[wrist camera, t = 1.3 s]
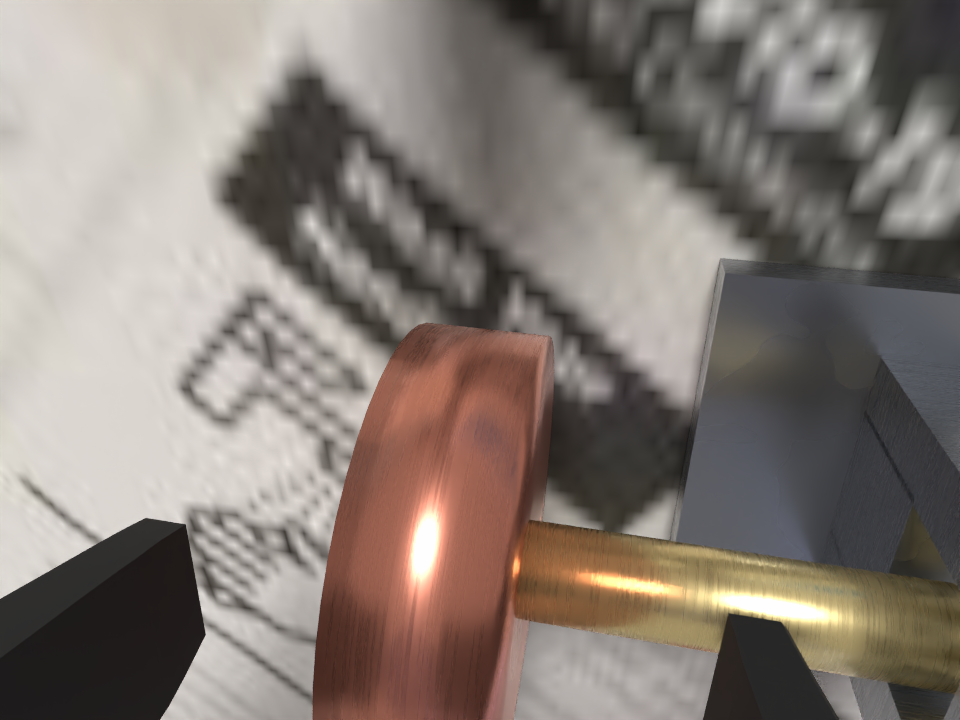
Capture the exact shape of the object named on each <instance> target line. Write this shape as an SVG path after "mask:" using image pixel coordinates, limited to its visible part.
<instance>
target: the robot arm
mask: <svg viewBox="0 0 960 720" xmlns="http://www.w3.org/2000/svg"><path fill="white" fill-rule="evenodd" d="M205 635H206V634H205V629H204V623H203V617H202V612H201V606H200V601H199V595H198V590H197V584H196V579H195V573H194V568H193V562H192V557H191V551H190V546H189V540H188V535H187V529H186V525H185V524H179V523H173V522H167V521H161V520H155V519H149V518H145V519H143V520H141V521H139V522H137V523H135V524H133V525H131V526H129V527H127V528H125V529H123V530H122V531H120V532H118V533H116V534H114V535H112V536H111V537H109V538H107V539H105V540H103V541H102V542H100V543H98V544H96V545H94V546H93V547H91V548H89V549H87V550H86V551H84V552H82V553H80V554H79V555H77V556H75V557H73V558H72V559H70V560H68V561H66V562H65V563H63V564H61V565H59V566H58V567H56V568H54V569H52V570H51V571H49V572H47V573H45V574H44V575H42V576H40V577H38V578H37V579H35V580H33V581H31V582H29V583H28V584H26V585H24V586H22V587H21V588H19V589H17V590H15V591H13V592H12V593H10V594H8V595H6V596H5V597H3V598H1V599H0V720H160V719H161V717H162V716H163V714H164V713H165V711H166V710H167V708H168V707H169V705H170V703H171V701H172V699H173V697H174V696H175V694H176V692H177V690H178V688H179V686H180V684H181V683H182V681H183V679H184V677H185V675H186V673H187V671H188V669H189V667H190V665H191V663H192V661H193V659H194V657H195V655H196V653H197V651H198V649H199V647H200V645H201V643H202V641H203V639H204V637H205ZM703 720H839V718H838V717H837V715H836V713H835V712H834V710H833V708H832V707H831V705H830V703H829V701H828V700H827V698H826V696H825V695H824V693H823V691H822V690H821V688H820V686H819V684H818V683H817V681H816V679H815V677H814V676H813V674H812V672H811V670H810V669H809V667H808V665H807V663H806V662H805V660H804V658H803V656H802V654H801V653H800V651H799V649H798V647H797V645H796V644H795V642H794V640H793V638H792V636H791V634H790V633H789V631H788V630H787V628H786V627H785V626H784V625H783V623H782V622H780V621H774V620H768V619H761V618H755V617H749V616H743V615H737V614H731V613H728V617H727V621H726V625H725V630H724V634H723V638H722V642H721V646H720V651H719V655H718V659H717V663H716V668H715V672H714V676H713V680H712V684H711V689H710V693H709V697H708V701H707V706H706V710H705V714H704V718H703Z"/></svg>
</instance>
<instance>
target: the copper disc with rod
mask: <svg viewBox="0 0 960 720" xmlns="http://www.w3.org/2000/svg"><path fill="white" fill-rule="evenodd" d="M553 392H554V349H553V342H552V338H551V337H550V336H545V335H536V334H526V333H517V332H508V331H498V330H489V329H480V328H470V327H461V326H452V325H443V324H433V323H424V324H420V325H418V326H417V327H415V328H414V329H412V330H411V331H410V332H409V333H408V334H407V335H406V337H405V338H404V339H403V340H402V341H401V342H400V344H399V346H398V347H397V349H396V350H395V352H394V354H393V355H392V357H391V358H390V360H389V362H388V364H387V366H386V368H385V370H384V372H383V374H382V376H381V378H380V380H379V382H378V385H377V387H376V390H375V392H374V395H373V397H372V399H371V402H370V404H369V407H368V409H367V412H366V415H365V418H364V421H363V424H362V427H361V430H360V433H359V435H358V438H357V441H356V445H355V448H354V452H353V455H352V459H351V462H350V465H349V469H348V472H347V476H346V479H345V484H344V488H343V492H342V496H341V500H340V504H339V508H338V512H337V516H336V521H335V526H334V531H333V536H332V541H331V546H330V551H329V556H328V561H327V567H326V574H325V580H324V586H323V592H322V599H321V605H320V614H319V623H318V631H317V640H316V650H315V665H314V680H313V720H514V714H515V709H516V703H517V697H518V691H519V685H520V679H521V673H522V667H523V660H524V654H525V647H526V641H527V634H528V627H529V621H533V622H539V623H544V624H550V625H556V626H562V627H568V628H573V629H579V630H585V631H591V632H597V633H602V634H608V635H614V636H620V637H626V638H631V639H637V640H643V641H649V642H655V643H660V644H666V645H672V646H678V647H684V648H689V649H695V650H701V651H707V652H713V653H719V651H720V646H721V642H722V638H723V634H724V630H725V625H726V621H727V617H728V613H731V614H737V615H743V616H749V617H755V618H761V619H768V620H774V621H780V622H782V623H783V625H784V626H785V627H786V628H787V630H788V631H789V633H790V634H791V636H792V638H793V640H794V642H795V644H796V645H797V647H798V649H799V651H800V653H801V654H802V656H803V658H804V660H805V662H806V663H807V665H808V667H809V669H811V670H817V671H823V672H829V673H835V674H840V675H846V676H852V677H858V678H864V679H869V680H875V681H881V682H887V683H893V684H898V685H904V686H910V687H916V688H922V689H927V690H933V691H939V692H945V693H951V694H955V693H956V690H957V688H958V686H959V684H960V591H959V589H958V587H957V585H956V584H955V583H950V582H944V581H937V580H930V579H924V578H917V577H910V576H904V575H897V574H890V573H883V572H877V571H870V570H863V569H857V568H850V567H843V566H837V565H830V564H823V563H817V562H810V561H803V560H796V559H790V558H783V557H776V556H770V555H763V554H756V553H750V552H743V551H736V550H730V549H723V548H716V547H709V546H703V545H696V544H689V543H683V542H676V541H669V540H663V539H656V538H649V537H643V536H636V535H629V534H622V533H616V532H609V531H602V530H596V529H589V528H582V527H576V526H569V525H562V524H556V523H549V522H542V520H543V511H544V502H545V492H546V483H547V473H548V462H549V451H550V439H551V426H552V411H553Z"/></svg>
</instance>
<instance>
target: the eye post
mask: <svg viewBox="0 0 960 720" xmlns="http://www.w3.org/2000/svg"><path fill="white" fill-rule="evenodd" d="M670 541H676V542H683V543H689V544H696V545H703V546H709V547H716V548H723V549H730V550H736V551H743V552H750V553H756V554H763V555H770V556H776V557H783V558H790V559H796V560H803V561H810V562H817V563H823V564H830V565H837V566H843V567H850V568H857V569H863V570H870V571H877V572H883V573H890V574H897V575H904V576H910V577H917V578H924V579H930V580H937V581H944V582H950V583H955V584H956V585H957V587H958V589H959V591H960V279H951V278H940V277H928V276H917V275H905V274H893V273H882V272H870V271H859V270H847V269H836V268H824V267H813V266H801V265H790V264H778V263H767V262H755V261H744V260H732V259H720V265H719V270H718V276H717V281H716V287H715V293H714V298H713V304H712V309H711V315H710V320H709V326H708V331H707V337H706V343H705V348H704V354H703V359H702V365H701V370H700V376H699V381H698V387H697V393H696V398H695V404H694V409H693V415H692V420H691V426H690V431H689V437H688V443H687V448H686V454H685V459H684V465H683V470H682V476H681V481H680V487H679V492H678V498H677V504H676V509H675V515H674V520H673V526H672V531H671V537H670ZM849 677H850V680H851V683H852V687H853V690H854V693H855V696H856V700H857V703H858V706H859V709H860V713H861V716H862V719H863V720H960V684H959V686H958V688H957V690H956V693H955V694H951V693H945V692H939V691H933V690H927V689H922V688H916V687H910V686H904V685H898V684H893V683H887V682H881V681H875V680H869V679H864V678H858V677H852V676H849Z"/></svg>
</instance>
